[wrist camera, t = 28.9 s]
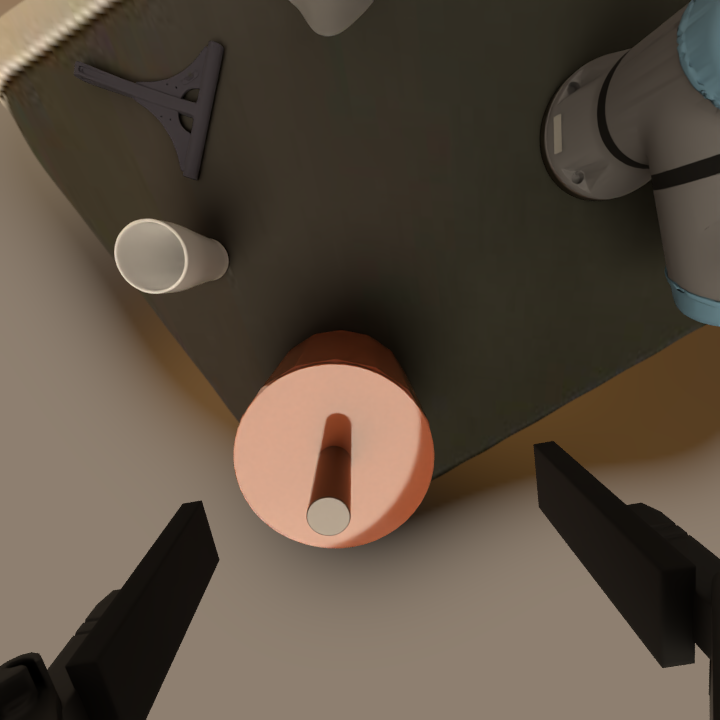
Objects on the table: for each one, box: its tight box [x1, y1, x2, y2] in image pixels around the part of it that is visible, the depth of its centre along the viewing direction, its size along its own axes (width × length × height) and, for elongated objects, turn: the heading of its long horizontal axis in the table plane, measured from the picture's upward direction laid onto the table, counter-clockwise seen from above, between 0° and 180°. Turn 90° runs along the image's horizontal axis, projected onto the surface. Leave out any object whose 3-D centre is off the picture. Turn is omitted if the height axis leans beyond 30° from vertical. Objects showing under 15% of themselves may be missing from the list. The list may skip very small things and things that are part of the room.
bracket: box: [74, 41, 224, 180], centre depth 45 cm, size 14×15×3 cm
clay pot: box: [233, 330, 434, 548], centre depth 42 cm, size 19×19×27 cm
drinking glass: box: [114, 219, 229, 294], centre depth 44 cm, size 7×7×15 cm
